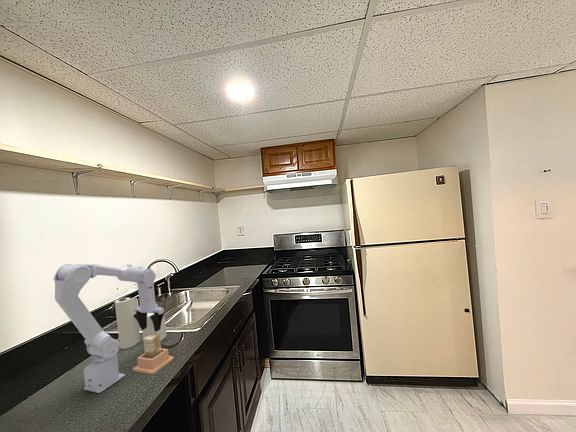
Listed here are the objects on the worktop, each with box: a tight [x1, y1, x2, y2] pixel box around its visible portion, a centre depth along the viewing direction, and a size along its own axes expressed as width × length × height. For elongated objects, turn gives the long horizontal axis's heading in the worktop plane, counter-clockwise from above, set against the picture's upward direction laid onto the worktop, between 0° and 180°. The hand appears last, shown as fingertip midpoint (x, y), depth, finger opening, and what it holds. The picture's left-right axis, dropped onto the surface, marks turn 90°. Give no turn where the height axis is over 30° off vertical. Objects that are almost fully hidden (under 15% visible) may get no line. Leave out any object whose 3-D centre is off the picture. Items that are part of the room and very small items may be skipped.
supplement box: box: [141, 313, 168, 342], centre depth 124 cm, size 7×7×13 cm
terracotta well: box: [132, 347, 175, 376], centre depth 103 cm, size 10×10×4 cm
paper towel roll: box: [114, 296, 142, 350], centre depth 120 cm, size 7×6×21 cm
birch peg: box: [142, 334, 162, 359], centre depth 103 cm, size 4×4×10 cm
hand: (150, 329), depth 110 cm, fingers open, 7 cm apart
